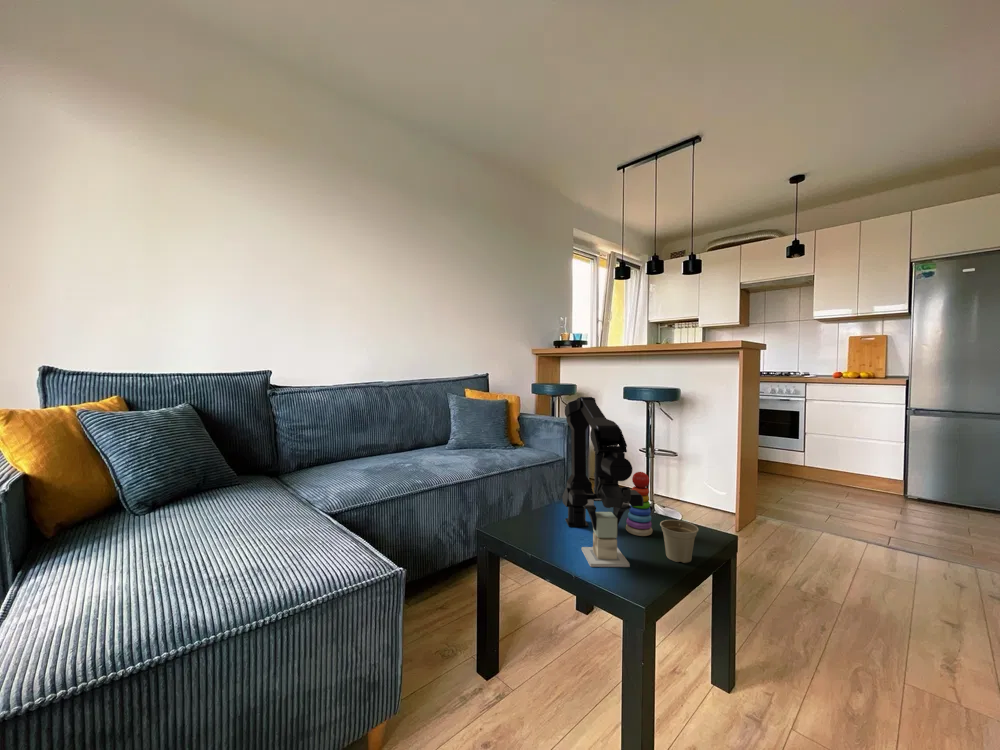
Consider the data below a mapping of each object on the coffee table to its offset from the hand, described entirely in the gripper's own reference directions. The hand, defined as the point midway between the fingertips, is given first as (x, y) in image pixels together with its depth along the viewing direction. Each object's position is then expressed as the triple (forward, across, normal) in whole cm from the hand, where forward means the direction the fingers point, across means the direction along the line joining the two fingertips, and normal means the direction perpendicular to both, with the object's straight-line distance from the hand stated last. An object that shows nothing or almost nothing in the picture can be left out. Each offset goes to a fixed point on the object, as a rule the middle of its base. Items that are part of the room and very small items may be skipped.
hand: (604, 529), depth 108 cm
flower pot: (+8, +20, 0) cm, 21 cm away
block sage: (+1, 0, 0) cm, 1 cm away
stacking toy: (+8, +16, +18) cm, 25 cm away
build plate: (+8, 0, 0) cm, 8 cm away
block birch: (+7, 0, 0) cm, 7 cm away
